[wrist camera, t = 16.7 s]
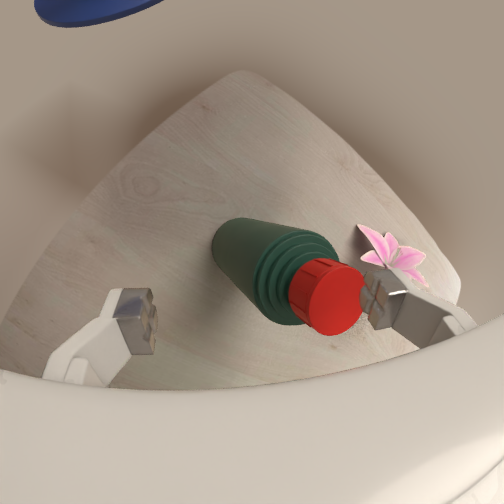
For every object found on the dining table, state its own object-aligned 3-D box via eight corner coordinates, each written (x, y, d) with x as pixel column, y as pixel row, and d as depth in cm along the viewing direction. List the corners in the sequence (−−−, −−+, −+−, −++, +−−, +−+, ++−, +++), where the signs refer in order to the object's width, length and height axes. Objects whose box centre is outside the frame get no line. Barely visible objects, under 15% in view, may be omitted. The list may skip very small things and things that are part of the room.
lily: (403, 256, 41) (442, 234, 32) (390, 322, 36) (436, 311, 27) (346, 222, 40) (380, 190, 32) (325, 291, 36) (365, 271, 27)
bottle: (201, 236, 29) (257, 283, 12) (253, 207, 31) (362, 216, 14) (229, 285, 31) (306, 374, 14) (277, 257, 33) (388, 310, 16)
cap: (277, 280, 15) (297, 293, 13) (331, 245, 16) (356, 252, 13) (302, 331, 16) (322, 348, 14) (349, 296, 17) (373, 309, 15)
